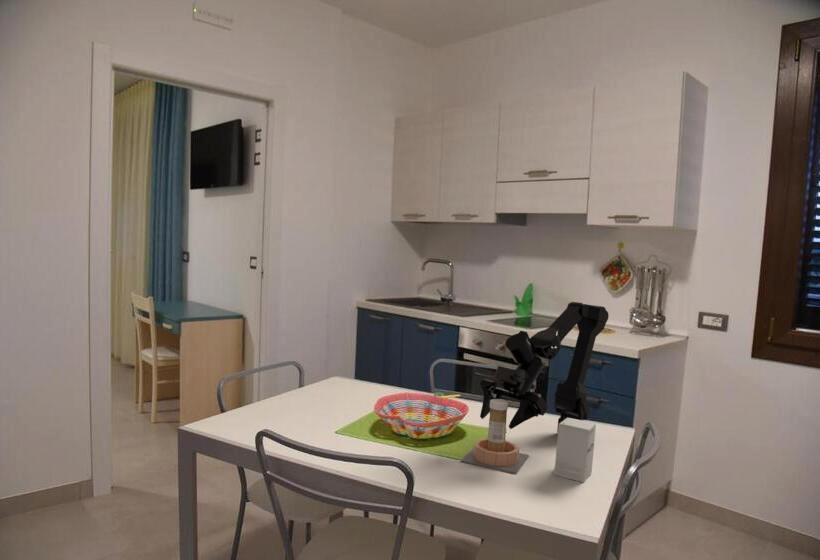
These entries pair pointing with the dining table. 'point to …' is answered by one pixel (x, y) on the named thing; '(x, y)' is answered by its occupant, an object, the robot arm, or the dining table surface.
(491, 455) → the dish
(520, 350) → the robot arm
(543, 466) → the dining table surface
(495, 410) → the sprinkles bottle
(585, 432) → the supplement box
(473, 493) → the dining table surface
